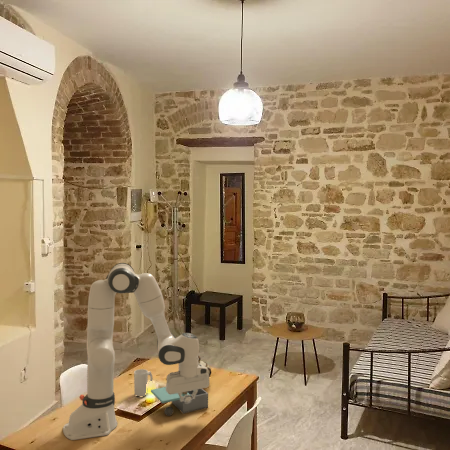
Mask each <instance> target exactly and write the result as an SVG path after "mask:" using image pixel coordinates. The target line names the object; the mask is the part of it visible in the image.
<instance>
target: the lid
mask: <svg viewBox="0 0 450 450" xmlns="http://www.w3.org/2000/svg"><path fill="white" fill-rule="evenodd" d="M150 392H151V394H152V395H153V396H154V397H156V399H158V401H160V403H161V404H166V403H170V402H171V403H172V401H176V400H180V397H179V395H178V393H176V394H171V395H170V394H168V393H167V392H166V386H163V387H158V388H154V389H153V388H152V389H150ZM187 394H188V395H190V394H189V393H188V392H182V395H181V396H183V397H184V396H185V395H187ZM190 396H191V395H190Z"/></svg>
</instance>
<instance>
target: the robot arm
mask: <svg viewBox="0 0 450 450" xmlns="http://www.w3.org/2000/svg"><path fill="white" fill-rule="evenodd" d="M129 293H131V294H132V293H133V294H134V297H135V299H136V303H137V304H138V308H139V310H140V311H141V313H142V315H143V316H144V317H145V318H147V319H149V320H150V322H151V323H152V326H153V329H154V331H155V335H156V337H157V341H156V349H157V354H158V359H159V361H160V363H162V364H163V365H166V366H172V365H173V366H174V365H177V364H178V371H172V372H171V371H170V372H169V373H168V374H167V376H166V384H165V387H166V392H167V393H168V394H170V395H171V394H176V393H178V395H179V397H180V401H181V402H182V401H184V397H183V396H181V395H182V392H187V391H192V390H193V393H192V394H191V397H192V399H195V395H196V394H197V392H198V389H206V388H209V386H210V377H209V374H208V368H207V367H205V366H204V365H202V364H199V362H198V360H199V357H198V356H200V354H199V352H200V341H199V338H198V336H197V335H196V334H193V333H191V332H183V333H181V334H180V335H179V336H177V337H176V336H175V335H174V334H173V333H172V332H171V329H170V327H169V323H168V322H167V319H166V315H165V311H166V304H165V300H164V296H163V293H162V289H161V288H160V286H159V284H158V282H157V280H156V278H155V277H154V275H152V274H151V273H148V272H143V273H140V274H139V273H138V274H137V273H135V269H134V268H133V267H132V266H131V265H130V264H128V263H126V262H120V263H119V262H118V263H116V264H115V265H113V266H112V268H111V269H110V271H109V272H108V274H107V276H106V278H104V279H98V280H95V281H94V282H93V283H91V285H90V288H89V294H88V301H87V329H86V332H87V333H86V353H87V354H86V355H87V372H86V373H87V374H86V375H87V376H86V385H87V386H86V390H87V391H86V395H84V394H80V396H78V397H79V400H80V401H82V404H81V405H80V406H78V407H77V408H76V409H74V411H72V412H71V413H70V415H69V418H68V423H65V424H64V425H63V427H62V432H63V435H64V436H65V437H66V438H67V439H68V440H70V441H75V440H83V439H88V438H89V439H90V438H96V437H103V436H108V435H110V433H111V432H112V431H113V430H115V429H116V428H117V426H118V421H117V417H116V413H115V405H116V404H115V403H116V396H115V395H116V394H115V392H114V378H115V377H114V374H115V373H114V372H115V356H116V353H115V348H114V343H113V341H114V340H113V339H114V327H115V309H116V307H115V305H116V304H115V303H116V302H115V300H116V299H115V298H116V295H117V294H129Z"/></svg>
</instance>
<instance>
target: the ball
mask: <svg viewBox="0 0 450 450" xmlns="http://www.w3.org/2000/svg"><path fill="white" fill-rule="evenodd" d="M164 414H165V415H166V416H167V417H169V416H172V415H173V414H174V409H173V406H172V407H171V406H167V407H165V408H164Z"/></svg>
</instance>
